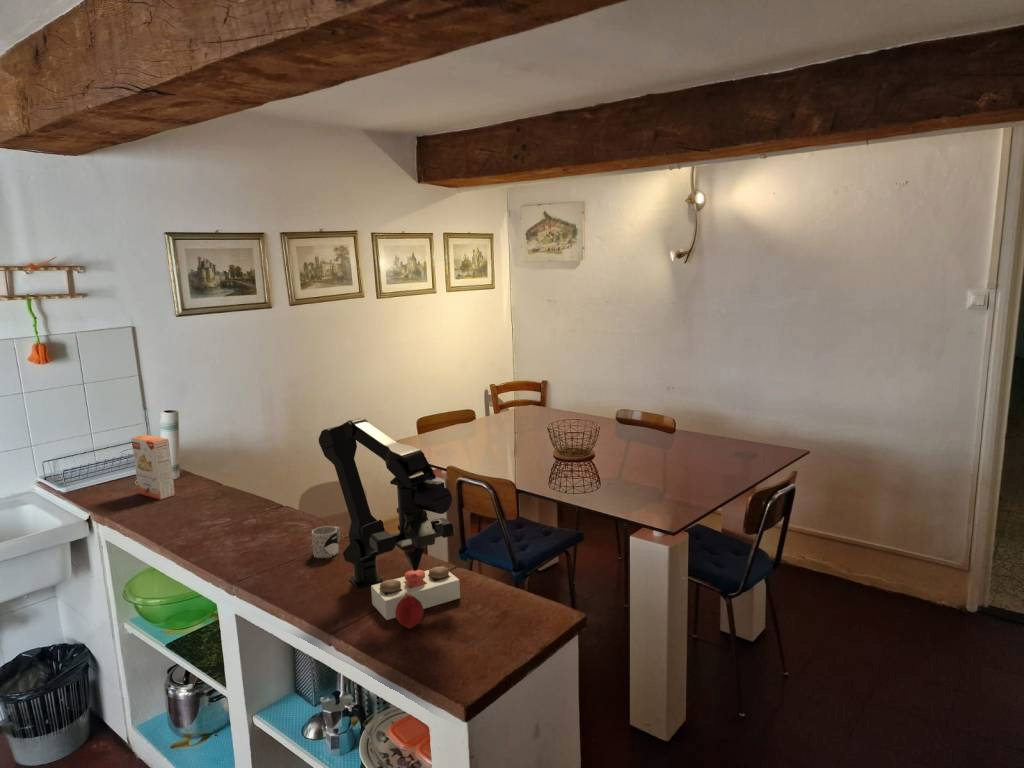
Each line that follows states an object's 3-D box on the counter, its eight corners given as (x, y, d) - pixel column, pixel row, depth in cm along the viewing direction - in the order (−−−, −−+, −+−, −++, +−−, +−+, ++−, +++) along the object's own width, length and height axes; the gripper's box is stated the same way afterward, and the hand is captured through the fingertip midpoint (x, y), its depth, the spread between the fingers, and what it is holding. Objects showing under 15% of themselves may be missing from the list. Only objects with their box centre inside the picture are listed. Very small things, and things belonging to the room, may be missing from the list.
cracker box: (137, 494, 248) (130, 437, 244) (154, 489, 253) (147, 433, 249) (159, 500, 240) (152, 441, 237) (176, 495, 245) (169, 437, 242)
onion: (425, 620, 151) (423, 586, 150) (422, 634, 146) (420, 598, 144) (398, 621, 151) (396, 587, 150) (395, 635, 145) (392, 600, 144)
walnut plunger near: (378, 605, 158) (376, 583, 157) (397, 600, 160) (396, 577, 159) (385, 613, 154) (384, 590, 153) (405, 608, 156) (403, 585, 156)
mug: (329, 560, 185) (327, 536, 184) (308, 557, 187) (306, 534, 186) (350, 545, 195) (348, 522, 194) (329, 543, 197) (327, 520, 196)
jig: (372, 604, 160) (371, 585, 159) (443, 583, 169) (442, 566, 168) (386, 620, 152) (385, 600, 151) (460, 597, 161) (459, 579, 160)
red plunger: (403, 595, 161) (401, 572, 160) (421, 590, 163) (419, 568, 162) (410, 603, 157) (409, 580, 156) (429, 597, 159) (428, 575, 158)
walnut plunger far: (426, 591, 164) (425, 569, 163) (444, 586, 166) (443, 565, 166) (435, 599, 160) (433, 576, 159) (453, 593, 163) (452, 571, 162)
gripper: (384, 524, 145) (389, 594, 148) (464, 506, 155) (467, 572, 157) (366, 509, 155) (371, 575, 157) (442, 493, 164) (445, 556, 167)
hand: (415, 570), depth 159 cm, fingers closed
